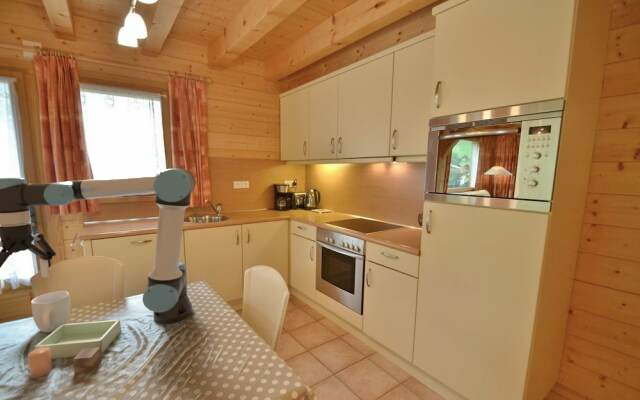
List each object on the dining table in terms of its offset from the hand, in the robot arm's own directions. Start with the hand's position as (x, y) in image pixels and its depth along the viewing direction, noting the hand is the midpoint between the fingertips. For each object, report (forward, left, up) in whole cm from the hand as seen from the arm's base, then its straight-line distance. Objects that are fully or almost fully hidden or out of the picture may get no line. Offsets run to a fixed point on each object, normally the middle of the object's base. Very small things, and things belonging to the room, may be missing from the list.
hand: (23, 285), depth 96 cm
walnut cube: (-24, +13, -24) cm, 37 cm away
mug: (+2, -13, -24) cm, 28 cm away
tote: (-15, 0, -24) cm, 29 cm away
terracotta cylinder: (-11, +13, -24) cm, 30 cm away
